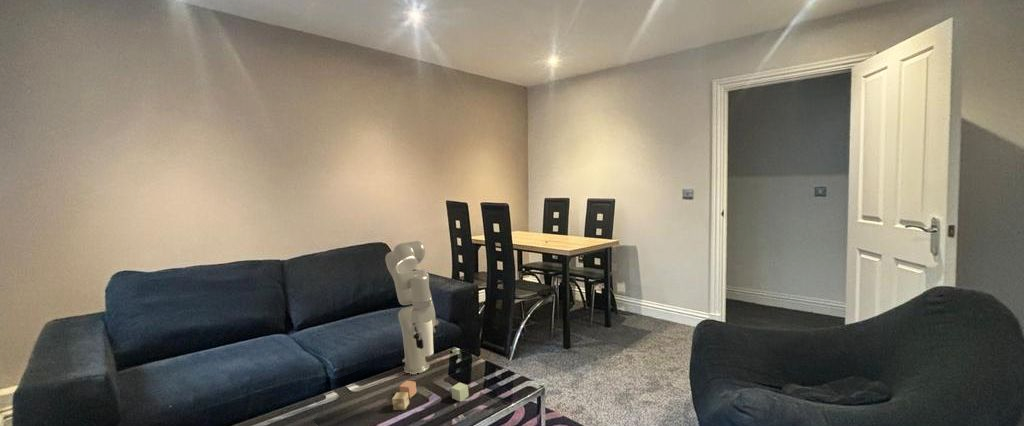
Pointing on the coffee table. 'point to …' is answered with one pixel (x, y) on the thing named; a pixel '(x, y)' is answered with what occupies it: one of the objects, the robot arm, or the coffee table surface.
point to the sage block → (459, 391)
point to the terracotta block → (408, 388)
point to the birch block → (400, 401)
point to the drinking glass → (427, 339)
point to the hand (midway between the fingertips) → (426, 344)
